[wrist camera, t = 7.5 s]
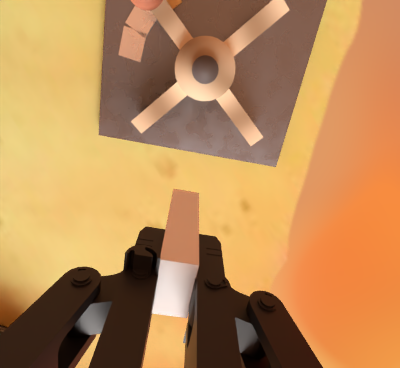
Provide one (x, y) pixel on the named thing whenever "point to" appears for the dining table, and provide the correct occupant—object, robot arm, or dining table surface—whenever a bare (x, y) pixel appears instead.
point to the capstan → (206, 65)
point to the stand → (211, 110)
